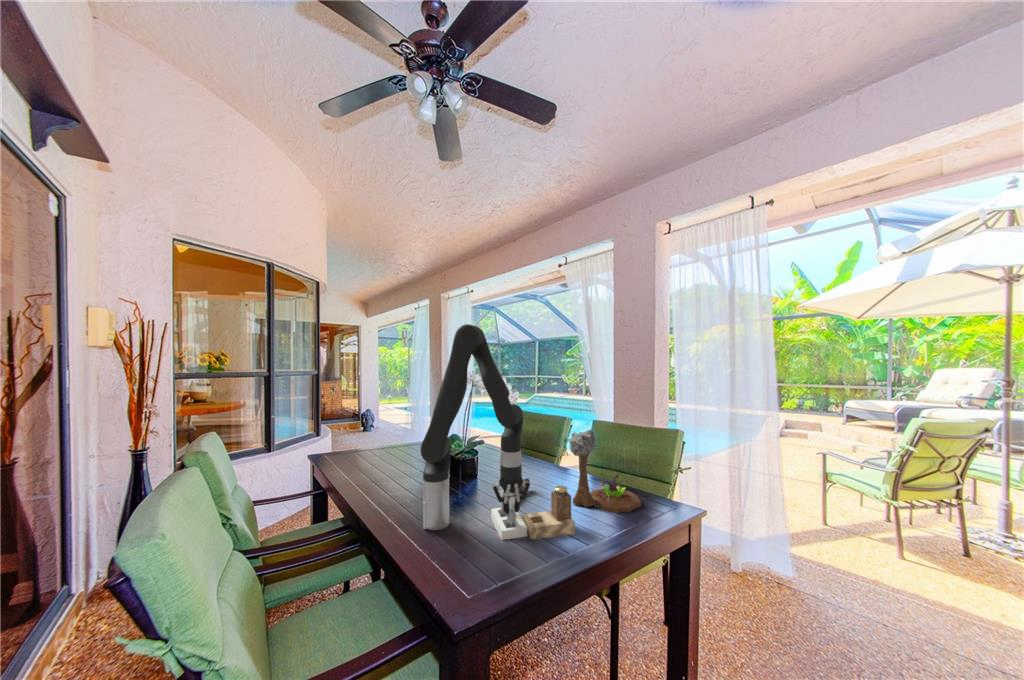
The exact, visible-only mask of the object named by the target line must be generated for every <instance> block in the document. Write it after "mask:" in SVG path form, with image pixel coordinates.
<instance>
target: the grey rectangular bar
mask: <svg viewBox="0 0 1024 680" xmlns="http://www.w3.org/2000/svg"><path fill="white" fill-rule="evenodd" d="M507 503H508V514H507V528H512V527H516V495H515V494H512V493H510V494H509V497H508V500H507Z"/></svg>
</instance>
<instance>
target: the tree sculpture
mask: <svg viewBox="0 0 1024 680" xmlns="http://www.w3.org/2000/svg"><path fill="white" fill-rule="evenodd" d="M568 440H569V449H570V453H572V454H573V455H574V456H575V457H578V471H579V479H578V482H577V483H578V486H577V489H576V492H575V495H574V497H573V499H572V503H573V504H574V505H576V506H582V507H584V508H590V507H592V506H596V505H595V503H596V502H595V500H594V499H593V498H592V496H591V494H590V493H591V491H590V487H589V480H588V472H587V466H588V458H589V456H590V454H591V452H592V451H593V450H595V447H597V443H596V442H597V439H596V436H595V433H594V431H593V430H591V429H587V430H586V431H584V432H578V433H577V432H573V433H572V434H571V437H570V438H569V439H568Z"/></svg>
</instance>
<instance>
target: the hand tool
mask: <svg viewBox="0 0 1024 680" xmlns="http://www.w3.org/2000/svg"><path fill="white" fill-rule="evenodd" d="M523 480H524V481H526V480H527V481H528V482H529V483H530V479H529V478H525V479H523ZM522 485H523V484H522ZM522 485H521V486H520V488H519V495H520V493H521V491H522V488H523V486H522ZM511 493H512V494H514V492H511ZM509 494H510V493H509Z"/></svg>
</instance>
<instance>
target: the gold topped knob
mask: <svg viewBox="0 0 1024 680" xmlns="http://www.w3.org/2000/svg"><path fill="white" fill-rule="evenodd" d="M554 491H555V492H557V495H558V496H565V493H566V492H568V487H567V486H565V485H556V486H554Z"/></svg>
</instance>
